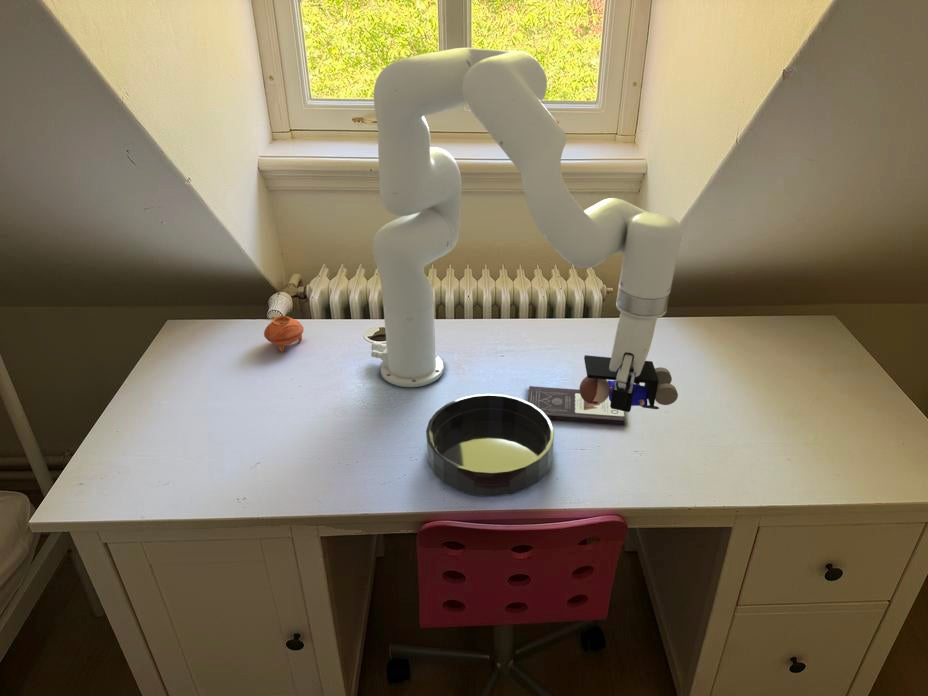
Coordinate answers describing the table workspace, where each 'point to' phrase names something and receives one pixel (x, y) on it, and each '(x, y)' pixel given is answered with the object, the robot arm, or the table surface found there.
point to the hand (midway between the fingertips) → (625, 394)
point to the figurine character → (655, 380)
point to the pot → (283, 331)
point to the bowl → (489, 444)
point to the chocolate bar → (572, 406)
